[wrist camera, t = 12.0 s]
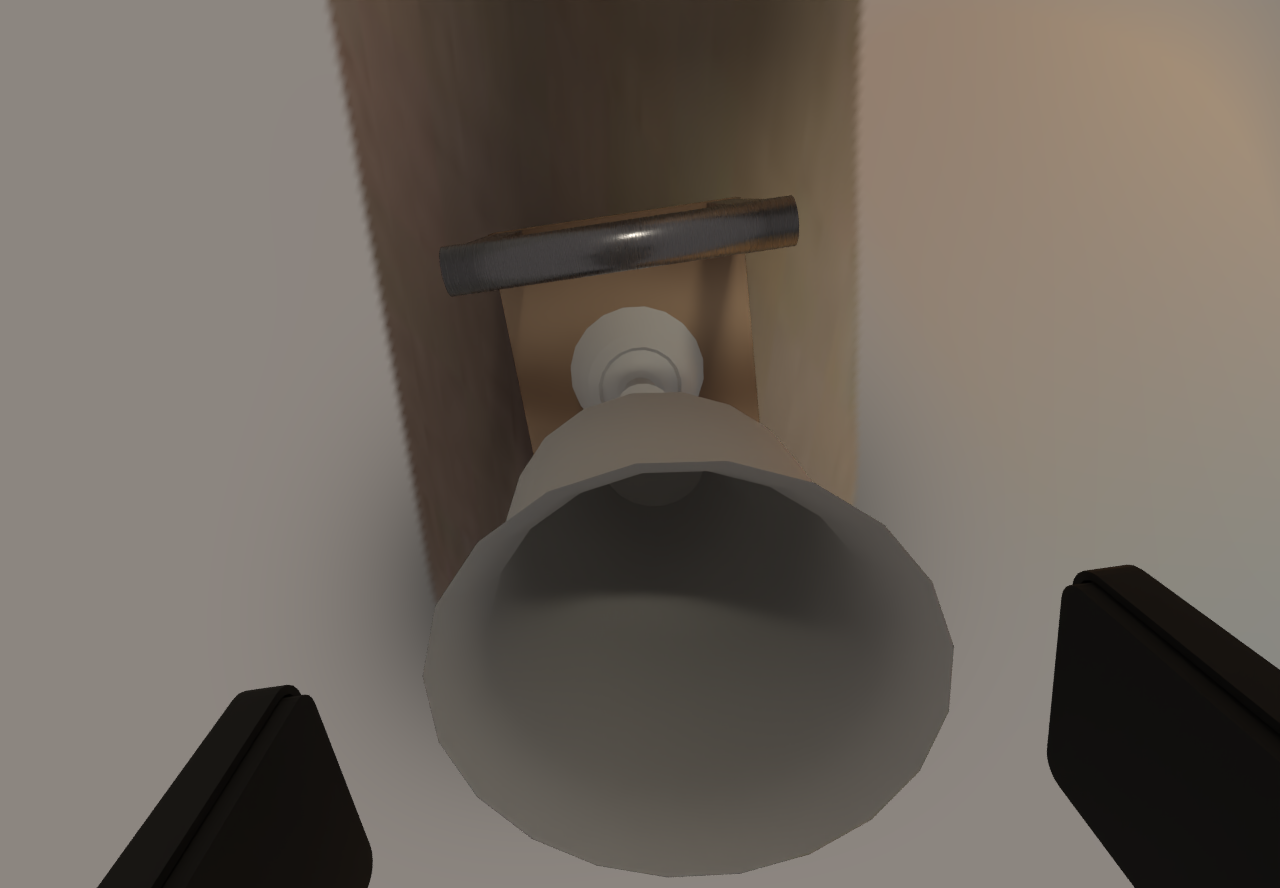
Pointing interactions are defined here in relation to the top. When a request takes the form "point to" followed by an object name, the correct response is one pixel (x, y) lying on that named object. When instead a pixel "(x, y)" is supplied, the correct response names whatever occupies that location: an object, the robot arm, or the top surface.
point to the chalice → (682, 633)
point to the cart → (625, 290)
